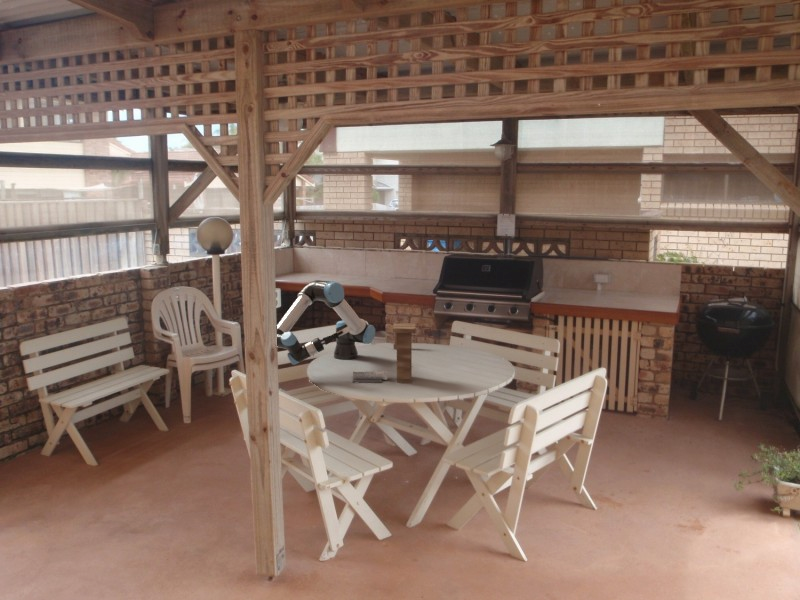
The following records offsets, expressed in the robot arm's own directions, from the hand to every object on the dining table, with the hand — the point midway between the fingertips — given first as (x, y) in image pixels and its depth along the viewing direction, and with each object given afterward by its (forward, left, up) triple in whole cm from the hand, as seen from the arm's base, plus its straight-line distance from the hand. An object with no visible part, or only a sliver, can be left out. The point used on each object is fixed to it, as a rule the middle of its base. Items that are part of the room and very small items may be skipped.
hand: (349, 328), depth 379 cm
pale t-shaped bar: (+2, +11, -27) cm, 30 cm away
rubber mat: (+2, +10, -28) cm, 30 cm away
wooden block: (-72, +28, -28) cm, 82 cm away
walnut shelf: (+2, +30, -28) cm, 41 cm away
